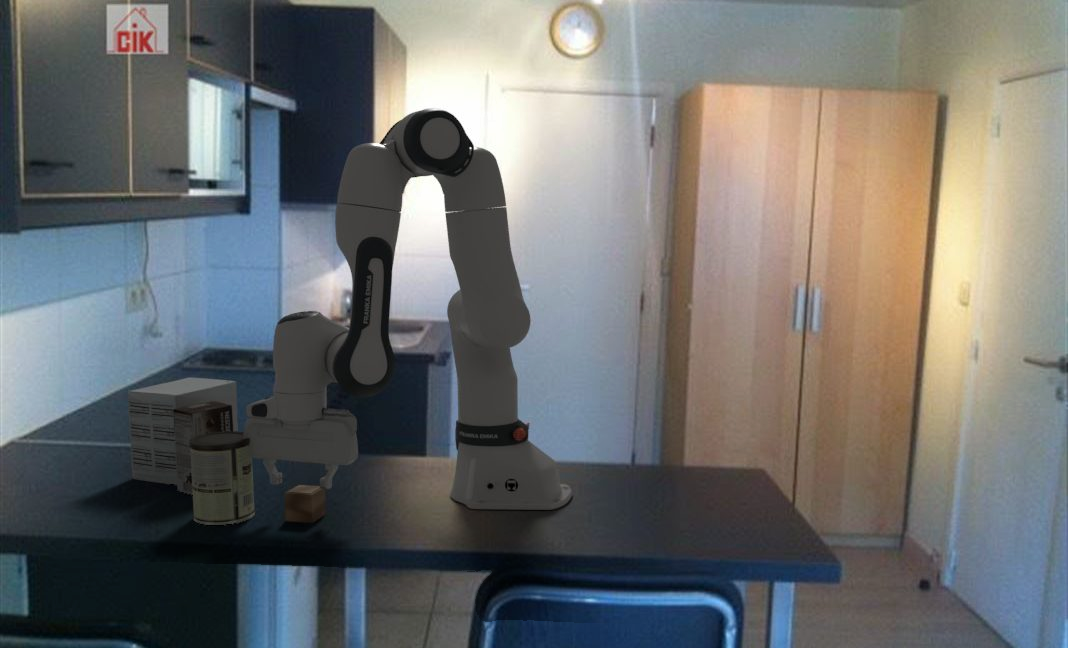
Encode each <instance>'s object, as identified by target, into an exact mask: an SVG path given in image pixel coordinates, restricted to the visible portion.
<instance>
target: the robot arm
mask: <svg viewBox="0 0 1068 648" xmlns="http://www.w3.org/2000/svg"><path fill="white" fill-rule="evenodd" d="M429 176H433V177H434V178H435V179H436V180H437V182H438V183H439V185H440V188H441V190H442V191H441V192H442V194H443V201H444V212H445V222H446V224H445V225H446V232H447V240H448V250H449V252H448V253H449V256H450V260H451V261H452V264H453V265H452V266H453V267H454V271H455V274H456V278H457V282H458V285H459V290H457V291H456V292H455V293H454V294H453V295H452V296H451V297H450V299H449V301H448V304H447V307H446V309H447V310H446V314H447V319H448V323H449V326H450V327H449V328H450V329H449V330H450V336H451V338H450V339H451V346H452V351H453V352H452V353H453V358H454V364H455V371H456V381H457V382H456V383H457V420H456V422H455V428H454V429H455V430H454V431H455V435H454V439H455V441H454V442H455V449H456V451H457V454H456V462H455V463H456V465H455V473H454V477H453V478H454V479H453V483H452V486H451V491H450V494H449V495H450V498H452V499H453V500H454V501H455V502H458V503H461V504H464V505H465V506H466V507H467V508H469V509H471V510H517V511H518V510H525V511H528V510H529V511H531V510H533V511H535V510H536V511H541V510H543V511H545V510H546V511H550V510H556V509H558V508H561V507H563V506H565V505H566V504H568V502H569V501H571V498H572V497H573V492H572V488H571V486H570V485H568V484H565V483H561V480H560V473H559V470H558V469H559V468H558V466H557V464H556V462H555V460H554V459H553V458H552V457H551V456H550V455H548V454H547V453H546V452H544V451H543V450H542V449H540V448H539V447H537V445H536V444H534V443H532V442H531V441H530V440H529V429H530V422H527V423H524V422H523V421H522V420H520V419H519V417H518V416H519V412H518V411H519V409H518V408H519V407H518V406H519V404H518V403H519V402H518V401H519V400H518V399H519V398H518V397H519V394H518V392H519V391H518V390H519V389H518V387H519V386H518V385H519V383H518V381H519V380H518V376H517V372H516V370H515V367H514V362H513V358H512V351H511V348H513V347H516V346H517V345H519V344H520V343H521V342H522V341H523V340H525V338H526V336H527V335H528V333H529V331H530V328H531V314H530V313H531V312H530V311H529V308H528V306H527V305H526V303H525V302H526V301H525V300H524V296H523V292H522V287H521V284H520V280H519V275H518V272H517V270H516V269H517V268H516V266H515V262H514V257H513V253H512V246H511V240H510V228H509V220H508V219H509V218H508V211H507V201H506V193H505V190H504V189H505V188H504V183H503V178H502V174H501V171H500V168H499V165H498V161H497V159H496V157H495V155H494V154H493V153H492V152H491V151H490V150H488V149H485V148H483V147H478V146H474V143H473V141H472V140H471V138H470V137H469V136H468V135H467V133H466V129H464V127H463V125H462V123H461V122H460V120H459V119H458V118H457V117H456V116H455V115H454V114H452V113H451V112H449V111H447V110H445V109H442V108H435V107H431V108H430V107H429V108H428V107H427V108H424V109H421V110H417V111H413V112H410V113H409V114H407V115H406V116H404V117H403V118H401V119H400V120H399V121H397V122H396V123H394V124H393V125H392V126H391V128H390V129H388V131H387V133H386V134H385V136H384V137H383V138H382V139H381V141H380V142H379V143H378V142H367V143H366V142H365V143H362V144H359V145H356V146H354V147H353V148H352V149H351V150H350V152H349V153H348V155H347V157H346V161H345V164H344V167H343V170H342V174H341V177H340V180H339V181H340V183H339V187H338V192H337V199H336V205H335V206H336V207H335V219H334V223H335V225H334V227H335V240H336V241H335V242H336V244H337V246H338V248H339V250H340V252H341V253H342V255H343V256H344V258H345V260H346V262H347V265H348V267H349V270H350V274H351V278H352V279H351V280H352V281H351V282H352V289H351V300H350V302H351V304H350V313H349V315H350V316H349V327H348V326H345V325H342V324H340V323H338V322H336V321H334V320H331V319H330V318H328V317H326V316H325V315H324V314H322V313H321V312H320V311H317V310H307V311H306V310H305V311H300V312H295V313H290V314H288V315H285V316H283V317H282V318H280V319H279V321H278V322H277V323H276V326H275V329H274V335H273V346H272V366H273V369H274V373H275V379H274V385H273V388H272V389H273V390H272V391H273V393H272V394H273V396H272V395H271V396H269V397H266V398H264V399H259V400H258V401H255V402H252V403H250V404H248V405H247V406H246V409H245V412H246V416H247V417H248V418H247V419H246V421H245V422H244V424H243V425H244V426H243V431H242V432H243V439H245V438H250V442H249V447H250V457H252V459H253V458H255V459H262V463H263V466H264V468H265V470H266V472H267V474H268V475H269V484H270V485H281V484H282V482H283V472H279V471H278V469H277V466H276V463H277V460H278V461H288V462H291V461H292V462H302V463H315V464H325V465H324V466H325V470H326V471H327V472H326V475H325V476H322V477H321V478H320V479H319V486H320V488H321V489H325V490H330V489H331V488H332V486H333V477H334V476H335V474H336V472H337V471H338V469H339V466H348V465H351V464H352V463H354V462H355V461H356V460H357V458H359V445H358V437H357V430H358V421H357V417H356V416H355V415H354V414H353V413H351V412H350V411H349V410H348V409H336V408H327V404H328V402H327V396H328V395H327V386H328V384H332V383H337V384H338V385H339V386H340V388H341V389H342V390H343V391H344V392H345V393H347V394H348V395H350V396H353V397H356V398H369V397H373V396H377V395H378V394H380V393H381V392H383V391H384V390H385V389H387V388H388V386H389V385H390V384H391V383H392V380H393V378H394V376H395V372H396V368H397V367H396V366H397V365H396V357H395V353H394V350H393V346H392V344H391V340H390V333H389V331H390V330H389V327H390V314H391V313H390V312H391V309H390V308H391V297H392V281H393V279H392V278H393V266H394V260H395V253H396V247H397V242H398V237H399V230H400V224H401V217H402V209H403V194H404V193H405V189H406V186H407V184H408V182H409V181H410V180H411V179H413V178H420V177H429Z"/></svg>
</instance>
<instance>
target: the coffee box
mask: <svg viewBox="0 0 1068 648" xmlns="http://www.w3.org/2000/svg"><path fill="white" fill-rule="evenodd" d="M173 412H174V431H175V449H176V468H177V485H176V486H177V492H178V491H180V492H179V493H181V492H184V493H183V494H185V493H187V495H189V494H191V495H190V496H192V495H193V491H192V472H191V454H190V445H189V440H190V439H191V438H193V437H195V436H198V435H202V434H207V433H213V432H224V431H233V417H232V405H228V404H225V403H221V402H215V401H211V402H207V403H201V404H196V405H191V406H186V407H181V408H177V409H173Z"/></svg>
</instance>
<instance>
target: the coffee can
mask: <svg viewBox="0 0 1068 648" xmlns="http://www.w3.org/2000/svg"><path fill="white" fill-rule="evenodd" d="M243 432H244V431H239V430H238V431H224V432H213V433H207V434H202V435H198V436H195V437H193V438H191V439H190V440H189V445H190V454H191V472H192V491H193V496H192V504H193V505H192V507H193V509H192V510H193V522H194V521H195V522H197V523H200V524H204V525H203V526H205V525H224V526H227V525H226V524H232V525H235V524H234V523H236V524H240V522H241V523H244V522H247V521H249V520H251V519H252V518H253V517H254V516H255V515H256V511H255V494H254V471H253V458H252V457H250V447H249V442H250V438H245V439H243ZM246 520H247V521H246ZM243 521H244V522H243ZM195 522H194V523H195ZM197 523H196V524H197ZM200 524H199V525H200Z"/></svg>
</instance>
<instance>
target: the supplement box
mask: <svg viewBox="0 0 1068 648" xmlns="http://www.w3.org/2000/svg"><path fill="white" fill-rule="evenodd" d="M237 397H238V395H237V381H236V380H235V381H234V380H226V379H215V378H206V377H205V378H204V377H185V378H182V379H177V380H174V381H169V382H164V383H158V384H154V385H150V386H145V387H140V388H137V389H132V390H127V407H128V424H129V437H130V438H129V439H130V440H129V441H130V442H129V443H130V455H131V456H130V457H131V458H130V459H131V476H132V479H133V480H138V481H143V482H144V481H145V482H151V483H158V484H163V483H164V484H163V485H170V484H174V485H173V486H177V468H176V449H175V431H174V412H173V409H177V408H181V407H186V406H191V405H196V404H201V403H207V402H211V401H215V402H221V403H225V404H228V405H232V417H233V431H238V432H239V424H238V423H239V422H238V420H239V419H238V398H237Z"/></svg>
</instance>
